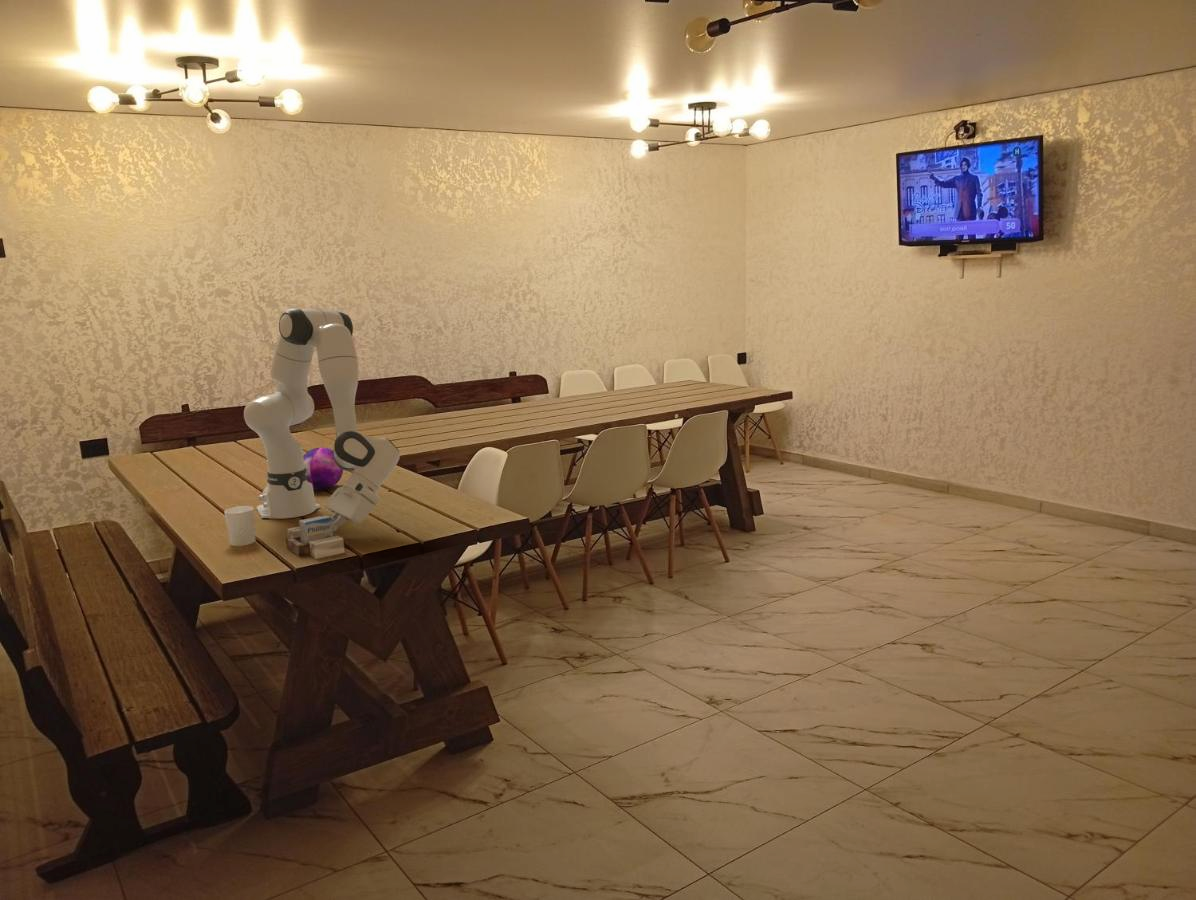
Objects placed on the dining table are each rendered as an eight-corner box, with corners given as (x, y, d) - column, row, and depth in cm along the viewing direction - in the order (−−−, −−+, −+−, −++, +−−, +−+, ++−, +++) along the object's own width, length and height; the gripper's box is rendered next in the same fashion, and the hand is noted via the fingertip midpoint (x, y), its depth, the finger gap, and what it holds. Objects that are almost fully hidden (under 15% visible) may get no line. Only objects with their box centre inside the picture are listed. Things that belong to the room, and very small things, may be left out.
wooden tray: (280, 544, 258) (278, 530, 257) (319, 535, 264) (317, 522, 264) (307, 561, 241) (305, 547, 240) (348, 551, 248) (346, 537, 247)
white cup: (261, 538, 264) (257, 505, 262) (252, 546, 257) (248, 512, 255) (234, 539, 264) (230, 506, 262) (224, 547, 256) (220, 513, 254)
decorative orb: (351, 483, 327) (347, 443, 324) (334, 494, 313) (330, 452, 310) (312, 484, 330) (308, 444, 326) (293, 494, 315) (289, 452, 312)
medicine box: (307, 553, 248) (304, 522, 247) (301, 549, 252) (298, 519, 250) (335, 546, 253) (331, 517, 251) (328, 543, 257) (325, 514, 255)
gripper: (337, 477, 265) (308, 515, 261) (366, 488, 249) (336, 530, 246) (353, 489, 269) (325, 527, 265) (383, 501, 253) (353, 542, 249)
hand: (330, 529), depth 255 cm, fingers closed, pressing on medicine box
